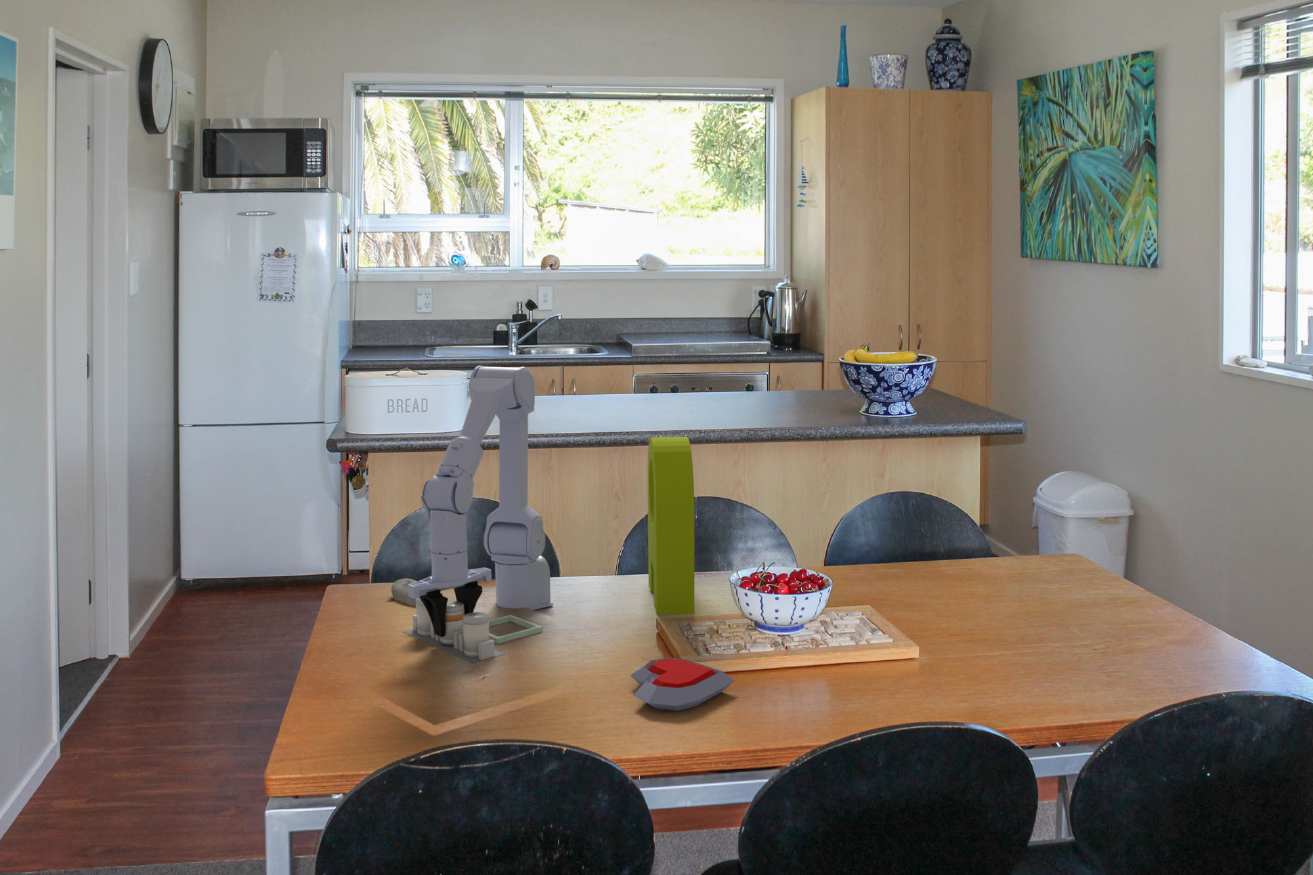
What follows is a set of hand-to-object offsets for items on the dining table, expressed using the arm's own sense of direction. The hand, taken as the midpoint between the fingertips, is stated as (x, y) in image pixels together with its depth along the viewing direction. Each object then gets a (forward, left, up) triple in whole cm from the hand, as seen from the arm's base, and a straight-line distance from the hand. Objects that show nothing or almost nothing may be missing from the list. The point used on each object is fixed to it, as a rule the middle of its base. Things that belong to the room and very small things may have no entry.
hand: (452, 631), depth 189 cm
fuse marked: (0, 0, -1) cm, 1 cm away
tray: (-9, +1, -3) cm, 10 cm away
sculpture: (-13, +40, -3) cm, 42 cm away
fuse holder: (0, 0, -3) cm, 3 cm away
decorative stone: (-8, -27, -3) cm, 28 cm away
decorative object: (-44, +4, -3) cm, 45 cm away
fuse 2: (0, +7, -2) cm, 7 cm away
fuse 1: (0, -7, -2) cm, 7 cm away
